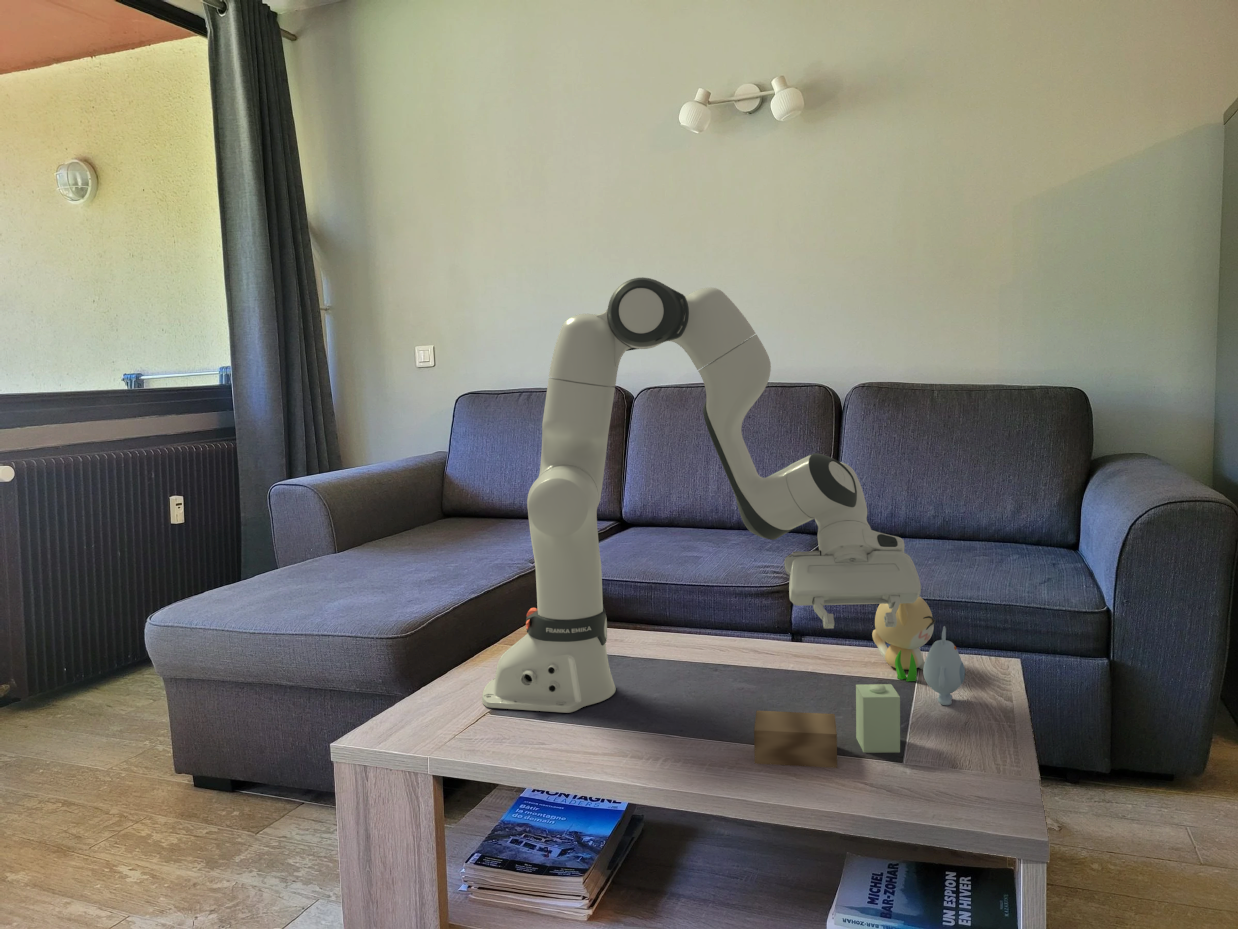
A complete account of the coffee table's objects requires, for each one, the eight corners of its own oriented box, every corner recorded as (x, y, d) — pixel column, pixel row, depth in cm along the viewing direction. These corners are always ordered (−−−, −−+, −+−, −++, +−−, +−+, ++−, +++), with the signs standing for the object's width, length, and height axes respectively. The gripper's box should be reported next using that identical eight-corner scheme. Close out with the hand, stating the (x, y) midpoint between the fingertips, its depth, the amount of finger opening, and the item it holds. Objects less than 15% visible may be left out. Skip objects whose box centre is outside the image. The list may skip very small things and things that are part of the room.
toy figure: (963, 716, 135) (963, 639, 133) (920, 711, 137) (920, 636, 136) (966, 692, 144) (966, 620, 143) (926, 688, 147) (926, 617, 145)
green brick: (863, 752, 123) (863, 694, 122) (856, 737, 128) (855, 681, 127) (900, 752, 123) (899, 693, 122) (891, 737, 128) (891, 680, 127)
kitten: (942, 683, 148) (942, 596, 147) (880, 682, 150) (880, 596, 149) (927, 655, 163) (927, 575, 161) (871, 654, 165) (870, 575, 163)
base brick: (754, 765, 121) (754, 730, 121) (756, 743, 128) (756, 710, 127) (837, 769, 119) (836, 734, 118) (834, 747, 126) (834, 714, 125)
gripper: (784, 541, 143) (793, 617, 134) (913, 538, 141) (931, 614, 133) (781, 562, 147) (790, 637, 139) (906, 559, 146) (922, 634, 137)
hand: (860, 626), depth 136 cm, fingers open, 8 cm apart
